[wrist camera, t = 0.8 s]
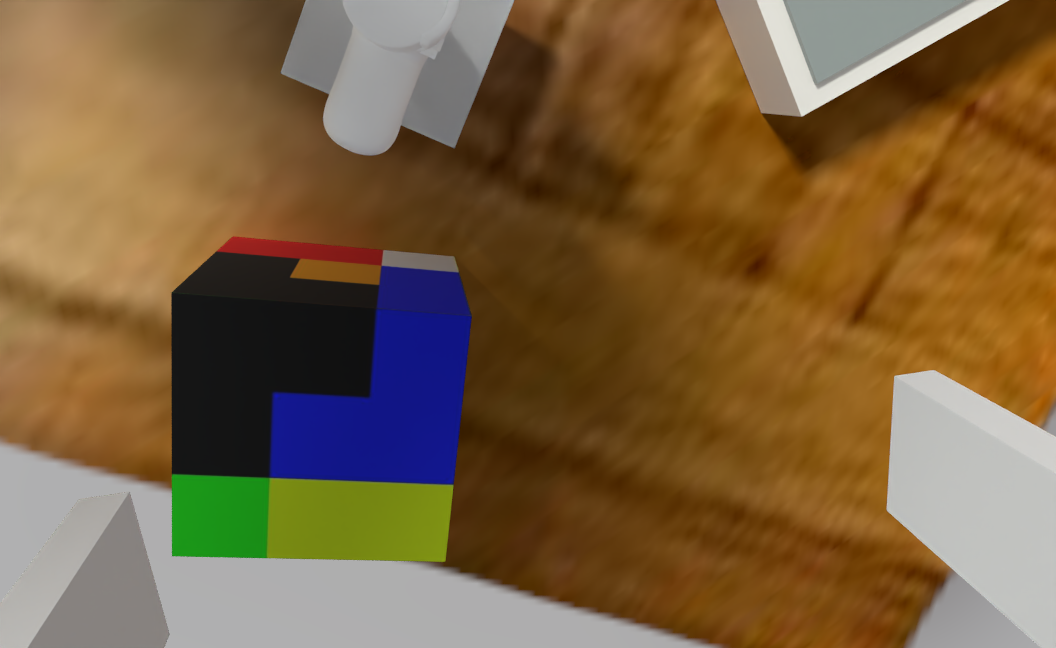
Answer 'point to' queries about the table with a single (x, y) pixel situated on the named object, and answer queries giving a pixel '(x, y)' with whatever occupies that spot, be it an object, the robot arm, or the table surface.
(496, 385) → the table surface
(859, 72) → the plinth
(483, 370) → the table surface
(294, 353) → the puzzle toy
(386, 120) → the figurine
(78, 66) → the table surface
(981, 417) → the robot arm
